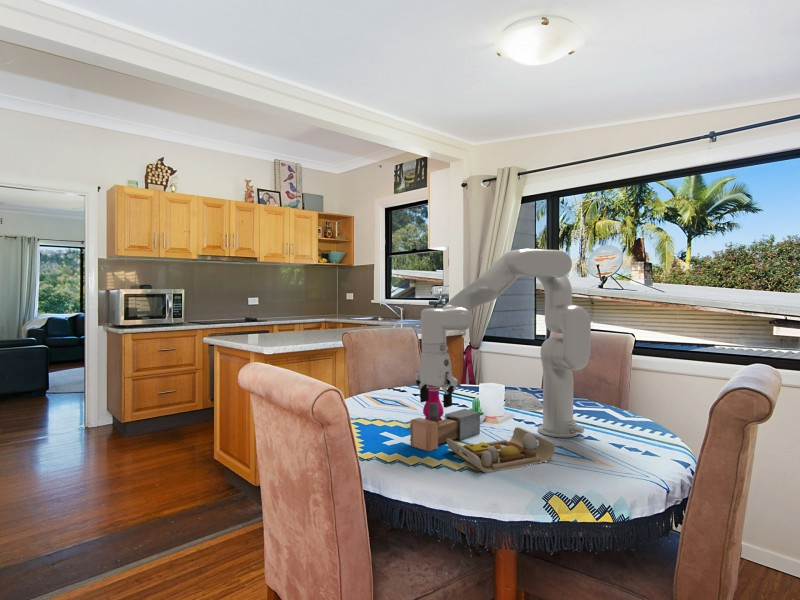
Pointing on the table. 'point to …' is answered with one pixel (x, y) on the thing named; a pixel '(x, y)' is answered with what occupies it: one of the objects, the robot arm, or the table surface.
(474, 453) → the toy food set
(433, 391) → the pepper mill
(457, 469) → the table surface
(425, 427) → the brown block
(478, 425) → the sleeve
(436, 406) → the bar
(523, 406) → the grey carved stone
